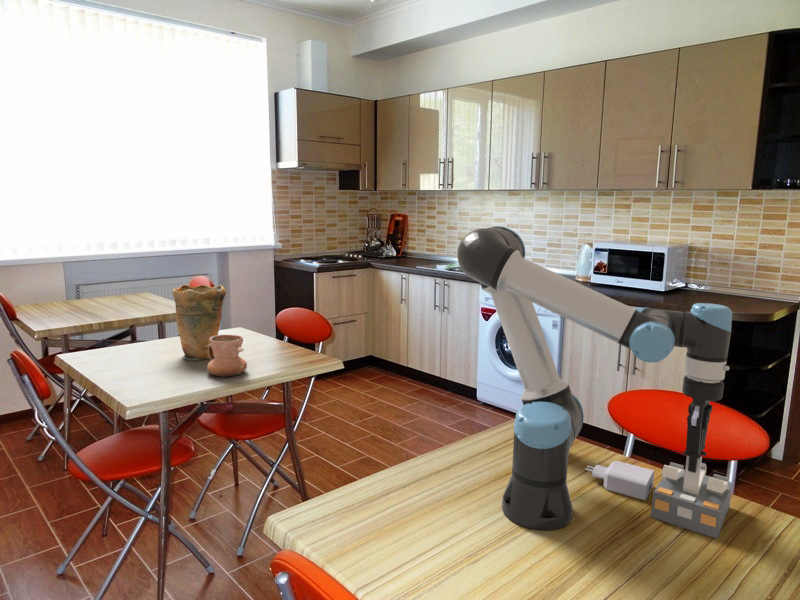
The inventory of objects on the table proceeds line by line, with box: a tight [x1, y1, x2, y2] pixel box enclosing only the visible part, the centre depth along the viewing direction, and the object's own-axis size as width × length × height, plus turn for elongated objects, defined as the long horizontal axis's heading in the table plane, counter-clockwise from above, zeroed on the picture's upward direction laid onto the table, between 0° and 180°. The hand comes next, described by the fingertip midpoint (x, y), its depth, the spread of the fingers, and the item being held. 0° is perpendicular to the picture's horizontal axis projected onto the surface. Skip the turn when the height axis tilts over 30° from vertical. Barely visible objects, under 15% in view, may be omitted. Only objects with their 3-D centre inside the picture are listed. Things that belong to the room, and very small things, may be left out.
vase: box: [172, 284, 227, 361], centre depth 240 cm, size 21×20×30 cm
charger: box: [584, 460, 655, 502], centre depth 141 cm, size 5×9×15 cm
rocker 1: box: [661, 461, 685, 480], centre depth 130 cm, size 8×3×2 cm, turn 143°
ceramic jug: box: [206, 334, 248, 377], centre depth 219 cm, size 18×14×14 cm
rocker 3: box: [707, 473, 729, 493], centre depth 125 cm, size 8×3×2 cm, turn 143°
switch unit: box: [650, 469, 733, 539], centre depth 128 cm, size 16×13×7 cm
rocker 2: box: [683, 462, 707, 495], centre depth 128 cm, size 8×3×2 cm, turn 143°
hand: (691, 484), depth 124 cm, fingers closed
